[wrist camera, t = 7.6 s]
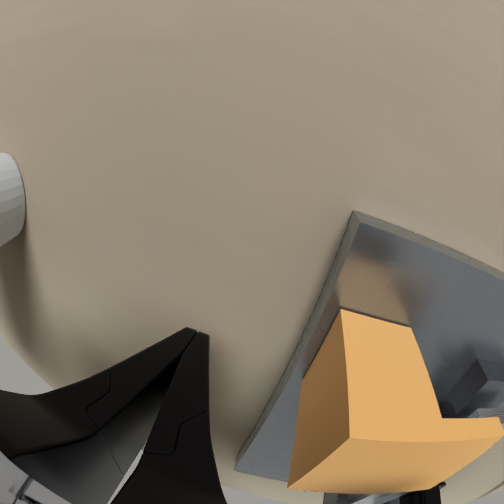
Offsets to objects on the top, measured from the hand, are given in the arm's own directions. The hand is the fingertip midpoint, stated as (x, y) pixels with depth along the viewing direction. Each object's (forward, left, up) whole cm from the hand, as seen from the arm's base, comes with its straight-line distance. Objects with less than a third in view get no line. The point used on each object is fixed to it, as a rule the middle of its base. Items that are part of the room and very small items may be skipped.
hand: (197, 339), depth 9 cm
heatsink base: (-5, -13, -3) cm, 14 cm away
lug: (0, -7, -1) cm, 7 cm away
